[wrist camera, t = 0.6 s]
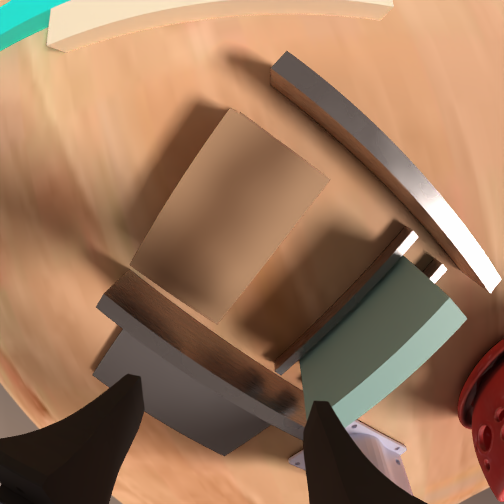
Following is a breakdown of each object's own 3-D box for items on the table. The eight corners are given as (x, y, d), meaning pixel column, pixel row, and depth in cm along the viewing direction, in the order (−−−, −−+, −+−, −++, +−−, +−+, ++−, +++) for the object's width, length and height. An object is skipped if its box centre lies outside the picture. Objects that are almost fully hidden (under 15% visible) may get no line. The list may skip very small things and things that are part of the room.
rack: (470, 258, 20) (501, 279, 16) (312, 411, 24) (317, 447, 20) (283, 70, 17) (286, 50, 13) (121, 281, 21) (95, 307, 17)
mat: (283, 410, 24) (283, 415, 24) (225, 451, 26) (224, 456, 26) (134, 312, 22) (131, 316, 21) (95, 370, 24) (92, 374, 24)
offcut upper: (324, 176, 17) (330, 179, 15) (221, 308, 20) (217, 324, 18) (234, 112, 16) (230, 107, 15) (141, 253, 19) (129, 264, 17)
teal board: (416, 270, 20) (467, 318, 13) (318, 367, 23) (331, 437, 16) (399, 252, 20) (449, 297, 13) (298, 354, 22) (307, 425, 16)
